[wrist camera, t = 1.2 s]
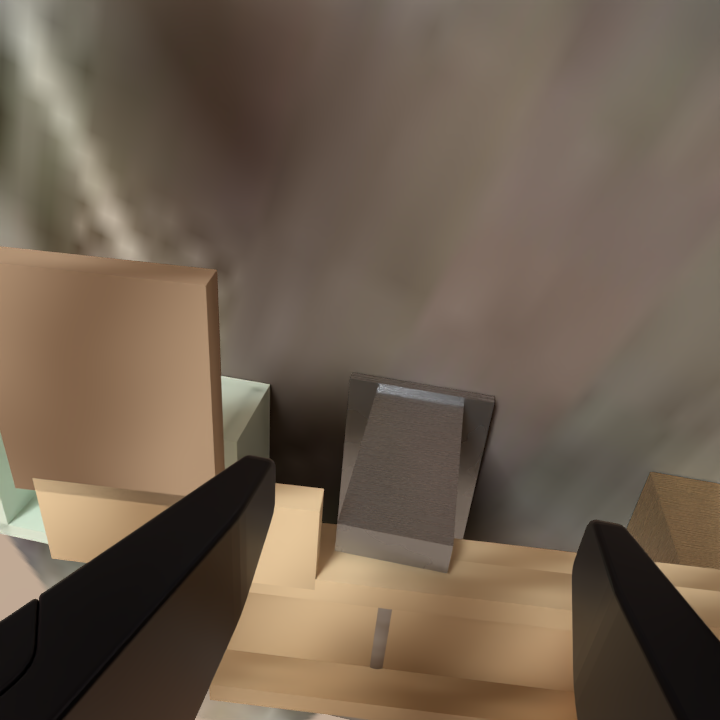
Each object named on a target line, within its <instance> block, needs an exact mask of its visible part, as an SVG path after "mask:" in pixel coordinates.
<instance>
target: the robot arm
mask: <svg viewBox="0 0 720 720" xmlns="http://www.w3.org/2000/svg"><path fill="white" fill-rule="evenodd" d="M275 477H276V466H275V463H274V461H273V460H272V459H269V458H264V457H259V456H253V455H247V456H244V457H242V458H241V459H239V460H238V461H236V462H235V463H233V464H232V465H230V466H229V467H228V468H226V469H225V470H223V471H222V472H220V473H219V474H217V475H216V476H214V477H213V478H211V479H210V480H208V481H207V482H205V483H204V484H202V485H201V486H200V487H198V488H197V489H195V490H194V491H192V492H191V493H189V494H188V495H186V496H185V497H183V498H182V499H180V500H179V501H177V502H176V503H175V504H173V505H172V506H170V507H169V508H167V509H166V510H164V511H163V512H161V513H160V514H158V515H157V516H155V517H154V518H152V519H151V520H150V521H148V522H147V523H145V524H144V525H142V526H141V527H139V528H138V529H136V530H135V531H133V532H132V533H130V534H129V535H127V536H126V537H125V538H123V539H122V540H120V541H119V542H117V543H116V544H114V545H113V546H111V547H110V548H108V549H107V550H105V551H104V552H102V553H101V554H100V555H98V556H97V557H95V558H94V559H92V560H91V561H89V562H88V563H86V564H85V565H83V566H82V567H80V568H79V569H77V570H76V571H75V572H73V573H72V574H70V575H69V576H67V577H66V578H64V579H63V580H61V581H60V582H58V583H57V584H55V585H54V586H52V587H51V588H50V589H48V590H47V591H45V592H44V593H42V594H41V595H40V597H39V601H38V600H37V599H33V600H32V601H30V602H29V603H27V604H26V605H24V606H23V607H21V608H20V609H19V610H17V611H15V612H14V613H12V614H11V615H9V616H8V617H6V618H5V619H3V620H2V621H0V720H195V718H196V716H197V714H198V711H199V709H200V707H201V705H202V702H203V700H204V698H205V696H206V694H207V691H208V689H209V687H210V685H211V682H212V680H213V678H214V676H215V674H216V671H217V669H218V667H219V665H220V662H221V660H222V658H223V656H224V653H225V651H226V649H227V647H228V645H229V642H230V640H231V638H232V636H233V633H234V631H235V629H236V626H237V624H238V622H239V619H240V617H241V614H242V611H243V608H244V605H245V602H246V600H247V597H248V593H249V590H250V587H251V584H252V581H253V578H254V574H255V571H256V568H257V565H258V562H259V559H260V555H261V552H262V549H263V546H264V543H265V540H266V536H267V533H268V530H269V527H270V524H271V520H272V517H273V513H274V507H275ZM572 637H573V685H574V696H575V706H576V714H577V720H720V640H719V639H718V638H717V637H716V636H715V634H714V633H713V632H712V631H711V630H710V628H709V627H708V626H707V625H706V624H705V622H704V621H703V620H702V619H701V618H700V616H699V615H698V614H697V613H696V612H695V610H694V609H693V608H692V607H691V606H690V604H689V603H688V602H687V601H686V600H685V598H684V597H683V596H682V595H681V594H680V592H679V591H678V590H677V589H676V588H675V586H674V585H673V584H672V583H671V582H670V581H669V579H668V578H667V577H666V576H665V575H664V573H663V572H662V571H661V570H660V569H659V567H658V566H657V565H656V564H655V563H654V561H653V560H652V559H651V558H650V557H649V555H648V554H647V553H646V552H645V551H644V549H643V548H642V547H641V546H640V545H639V543H638V542H637V541H636V540H635V539H634V537H633V536H632V535H631V534H630V533H629V531H628V530H627V529H626V528H625V527H624V526H622V525H620V524H616V523H611V522H606V521H600V520H593V521H590V523H589V524H588V525H587V527H586V530H585V533H584V535H583V538H582V541H581V544H580V546H579V549H578V552H577V554H576V557H575V560H574V564H573V569H572Z"/></svg>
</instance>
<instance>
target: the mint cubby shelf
mask: <svg viewBox="0 0 720 720" xmlns="http://www.w3.org/2000/svg"><path fill="white" fill-rule="evenodd" d="M221 385H222V411H223V437H224V463H225V469H226V468H228V467H229V466H230V465H232V464H233V463H235V462H236V461H238V460H239V459H241V458H242V457H244V456H247V455H253V456H259V457H264V458H269V449H270V384H265V383H259V382H254V381H248V380H242V379H236V378H230V377H225V376H221ZM0 534H5V535H9V536H14V537H19V538H24V539H28V540H33V541H38V542H42V543H47V544H48V540H47V536H46V532H45V528H44V524H43V520H42V516H41V511H40V507H39V503H38V499H37V495H36V491H35V490H27V489H19V488H15V485H14V481H13V477H12V474H11V470H10V466H9V462H8V459H7V455H6V451H5V447H4V444H3V440H2V436H1V432H0Z"/></svg>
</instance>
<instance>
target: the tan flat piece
mask: <svg viewBox="0 0 720 720" xmlns="http://www.w3.org/2000/svg"><path fill="white" fill-rule="evenodd" d="M0 432H1V436H2V440H3V444H4V447H5V451H6V455H7V459H8V462H9V466H10V470H11V474H12V477H13V481H14V485H15V488H19V489H27V490H35V491H36V495H37V499H38V503H39V507H40V511H41V516H42V520H43V524H44V528H45V532H46V536H47V540H48V544H49V548H50V552H51V556H52V558H53V559H61V560H69V561H77V562H86V563H88V562H89V561H91V560H92V559H94V558H95V557H97V556H98V555H100V554H101V553H102V552H104V551H105V550H107V549H108V548H110V547H111V546H113V545H114V544H116V543H117V542H119V541H120V540H122V539H123V538H125V537H126V536H127V535H129V534H130V533H132V532H133V531H135V530H136V529H138V528H139V527H141V526H142V525H144V524H145V523H147V522H148V521H150V520H151V519H152V518H154V517H155V516H157V515H158V514H160V513H161V512H163V511H164V510H166V509H167V508H169V507H170V506H172V505H173V504H175V503H176V502H177V501H179V500H180V499H182V498H183V497H185V496H186V495H188V494H189V493H191V492H192V491H194V490H195V489H197V488H198V487H200V486H201V485H202V484H204V483H205V482H207V481H208V480H210V479H211V478H213V477H214V476H216V475H217V474H219V473H220V472H222V471H223V470H225V463H224V437H223V411H222V385H221V359H220V333H219V307H218V281H217V270H215V269H205V268H196V267H187V266H177V265H168V264H159V263H149V262H140V261H131V260H121V259H112V258H103V257H93V256H84V255H75V254H65V253H56V252H47V251H37V250H28V249H19V248H9V247H0ZM323 497H324V489H321V488H313V487H304V486H296V485H287V484H278V483H275V507H274V513H273V517H272V520H271V524H270V527H269V530H268V533H267V536H266V540H265V543H264V546H263V549H262V552H261V555H260V559H259V562H258V565H257V568H256V571H255V574H254V578H253V581H252V584H251V587H250V590H249V593H248V597H247V600H246V602H245V605H244V608H243V611H242V614H241V617H240V619H239V622H238V624H237V626H236V629H235V631H234V633H233V636H232V638H231V640H230V642H229V645H228V647H227V649H226V651H225V653H224V656H223V658H222V660H221V662H220V665H219V667H218V669H217V671H216V674H215V676H214V678H213V680H212V682H211V685H210V687H209V690H210V700H217V701H225V702H233V703H241V704H249V705H257V706H265V707H273V708H281V709H288V710H296V711H304V712H312V713H320V714H328V715H336V716H344V717H352V718H360V719H368V720H577V714H576V706H575V696H574V685H573V637H572V569H573V564H574V560H575V557H576V554H577V553H575V552H566V551H558V550H549V549H541V548H532V547H524V546H515V545H507V544H498V543H490V542H481V541H473V540H464V539H456V538H454V543H453V550H452V554H451V559H450V563H449V568H448V572H447V573H442V572H437V571H432V570H428V569H423V568H418V567H413V566H408V565H403V564H398V563H393V562H388V561H383V560H378V559H373V558H368V557H363V556H358V555H353V554H348V553H344V552H339V551H335V543H336V532H337V525H336V524H328V523H322V511H323ZM654 563H655V564H656V565H657V566H658V567H659V569H660V570H661V571H662V572H663V573H664V575H665V576H666V577H667V578H668V579H669V581H670V582H671V583H672V584H673V585H674V586H675V588H676V589H677V590H678V591H679V592H680V594H681V595H682V596H683V597H684V598H685V600H686V601H687V602H688V603H689V604H690V606H691V607H692V608H693V609H694V610H695V612H696V613H697V614H698V615H699V616H700V618H701V619H702V620H703V621H704V622H705V624H706V625H707V626H708V627H709V628H710V630H711V631H712V632H713V633H714V634H715V636H716V637H717V638H718V639H719V640H720V570H719V569H711V568H702V567H694V566H685V565H677V564H668V563H660V562H654Z"/></svg>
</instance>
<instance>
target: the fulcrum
mask: <svg viewBox="0 0 720 720" xmlns="http://www.w3.org/2000/svg"><path fill="white" fill-rule="evenodd" d="M493 407H494V396H489V395H483V394H477V393H471V392H465V391H459V390H454V389H448V388H442V387H436V386H430V385H424V384H418V383H412V382H406V381H400V380H394V379H388V378H382V377H376V376H370V375H364V374H358V373H352V374H351V377H350V384H349V395H348V407H347V418H346V430H345V441H344V453H343V465H342V476H341V488H340V499H339V511H338V522H337V532H336V543H335V551H339V552H344V553H348V554H353V555H358V556H363V557H368V558H373V559H378V560H383V561H388V562H393V563H398V564H403V565H408V566H413V567H418V568H423V569H428V570H432V571H437V572H442V573H447V572H448V568H449V563H450V559H451V554H452V550H453V543H454V538H456V539H463V536H464V532H465V528H466V523H467V519H468V515H469V510H470V506H471V502H472V497H473V493H474V489H475V485H476V480H477V476H478V472H479V467H480V463H481V459H482V454H483V450H484V446H485V441H486V437H487V433H488V429H489V424H490V420H491V416H492V411H493ZM627 530H628V531H629V533H630V534H631V535H632V536H633V537H634V539H635V540H636V541H637V542H638V543H639V545H640V546H641V547H642V548H643V549H644V551H645V552H646V553H647V554H648V555H649V557H650V558H651V559H652V560H653V561H654V562H660V563H668V564H677V565H685V566H694V567H702V568H711V569H719V570H720V484H717V483H712V482H706V481H700V480H695V479H689V478H683V477H678V476H672V475H666V474H661V473H655V472H650V474H649V476H648V479H647V481H646V483H645V486H644V488H643V491H642V493H641V495H640V498H639V500H638V503H637V505H636V507H635V510H634V512H633V515H632V517H631V520H630V522H629V524H628V527H627ZM332 716H336V715H332ZM336 717H341V718H345V719H349V720H368V719H360V718H352V717H344V716H336Z"/></svg>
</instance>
